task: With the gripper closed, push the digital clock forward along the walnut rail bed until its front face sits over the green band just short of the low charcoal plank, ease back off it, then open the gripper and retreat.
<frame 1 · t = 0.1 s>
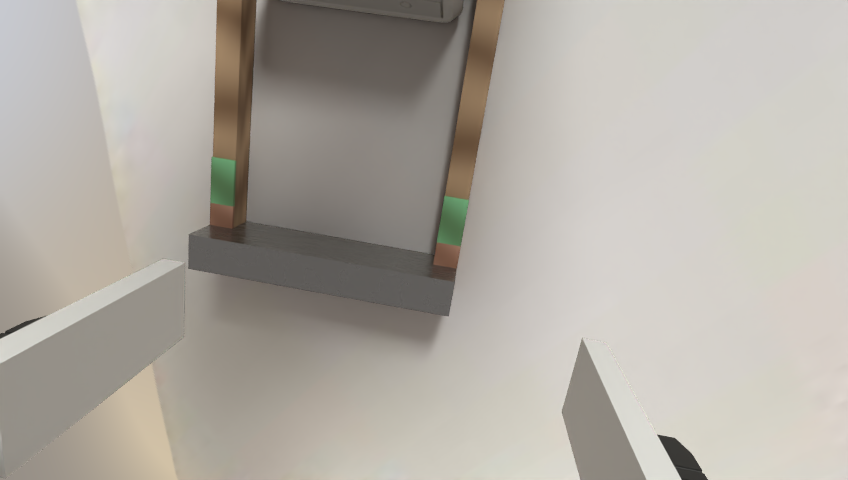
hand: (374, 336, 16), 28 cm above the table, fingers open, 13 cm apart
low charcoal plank: (338, 253, 45), on the table
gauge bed: (352, 116, 42), on the table
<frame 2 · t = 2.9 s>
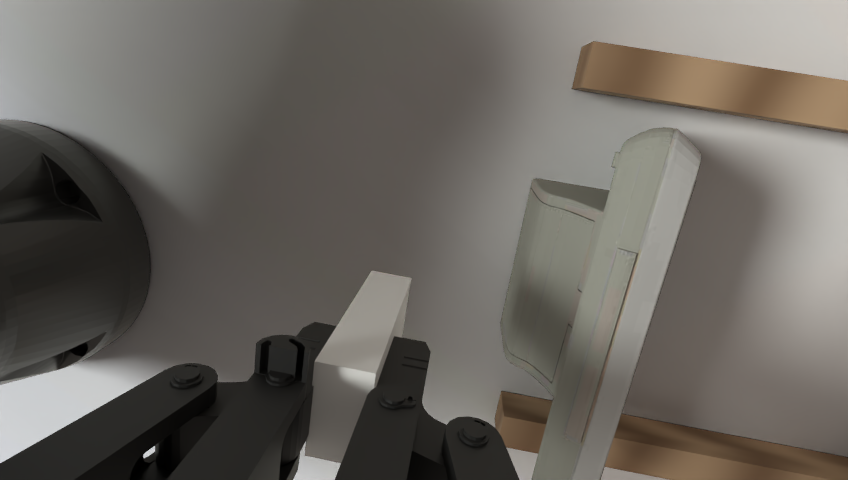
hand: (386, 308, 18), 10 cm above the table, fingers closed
digital clock: (587, 265, 27), on the table
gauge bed: (786, 299, 27), on the table
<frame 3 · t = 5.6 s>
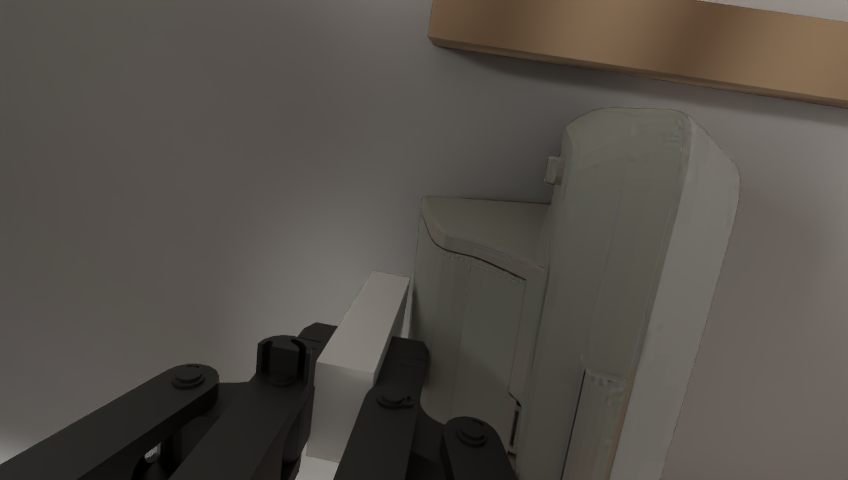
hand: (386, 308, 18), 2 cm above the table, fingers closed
digital clock: (514, 310, 19), on the table, touching gripper, hand
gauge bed: (750, 342, 19), on the table
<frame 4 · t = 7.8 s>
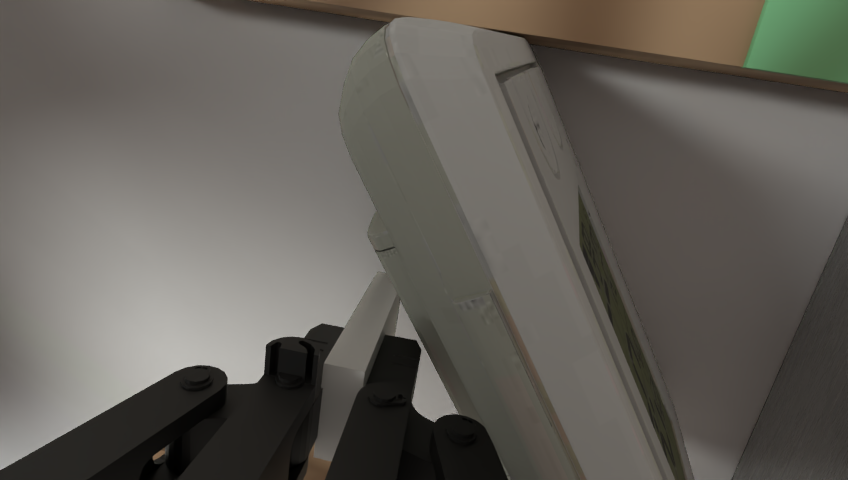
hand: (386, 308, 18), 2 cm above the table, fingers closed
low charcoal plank: (831, 356, 18), on the table
digital clock: (525, 267, 18), on the table, touching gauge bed, gripper, hand
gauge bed: (498, 290, 19), on the table
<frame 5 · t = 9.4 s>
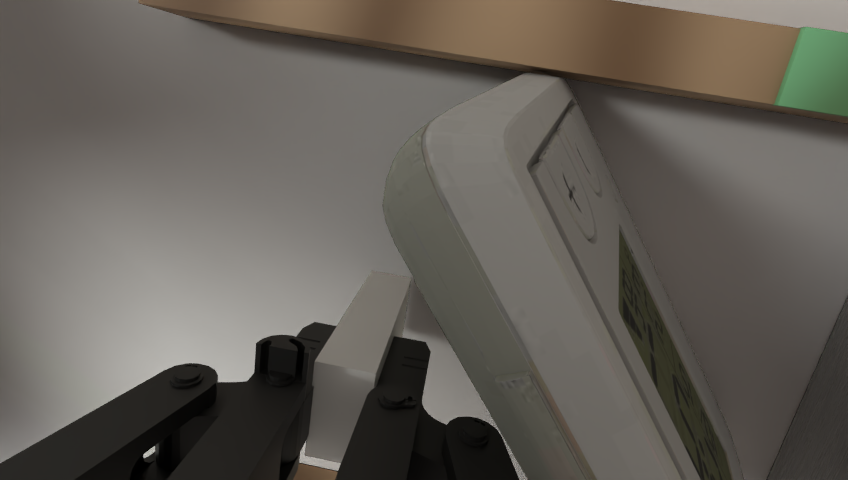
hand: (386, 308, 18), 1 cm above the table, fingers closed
digital clock: (570, 293, 18), on the table, touching hand
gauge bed: (522, 319, 19), on the table
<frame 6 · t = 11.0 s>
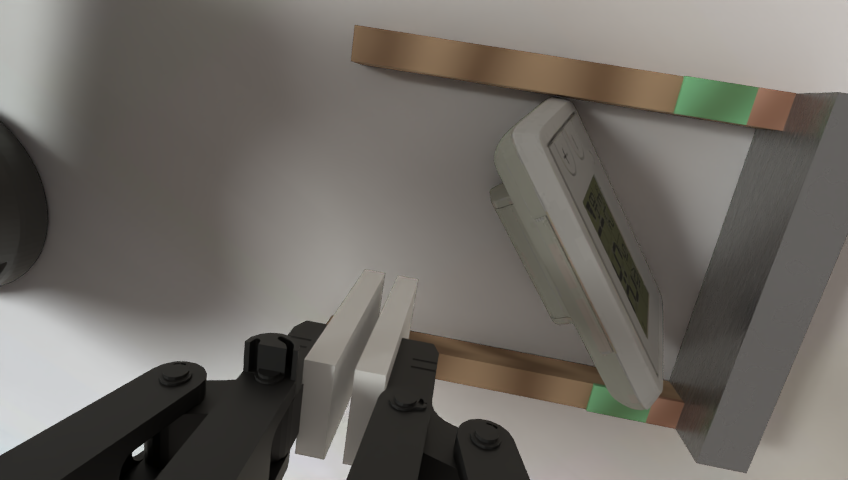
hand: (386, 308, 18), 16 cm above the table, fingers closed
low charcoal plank: (732, 268, 32), on the table
digital clock: (573, 218, 33), on the table
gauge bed: (545, 235, 33), on the table
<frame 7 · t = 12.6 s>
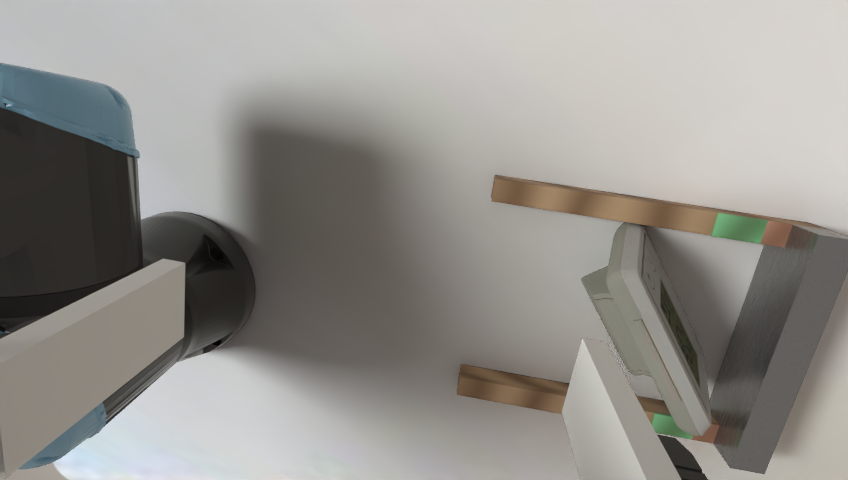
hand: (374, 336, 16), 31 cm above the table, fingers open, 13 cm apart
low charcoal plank: (751, 331, 46), on the table
digital clock: (639, 297, 47), on the table
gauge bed: (618, 308, 47), on the table
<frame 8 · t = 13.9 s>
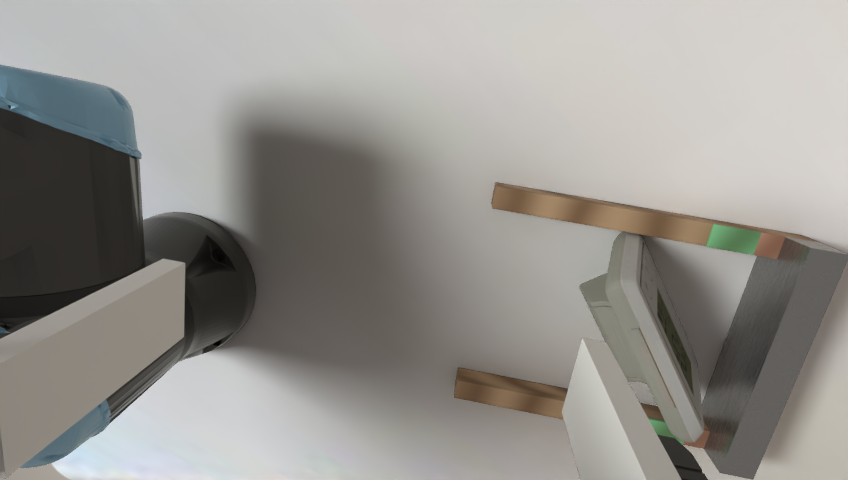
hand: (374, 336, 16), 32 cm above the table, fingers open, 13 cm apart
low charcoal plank: (742, 339, 47), on the table
digital clock: (636, 304, 48), on the table
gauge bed: (613, 315, 48), on the table
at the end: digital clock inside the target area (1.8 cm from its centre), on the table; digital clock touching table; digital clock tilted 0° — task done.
